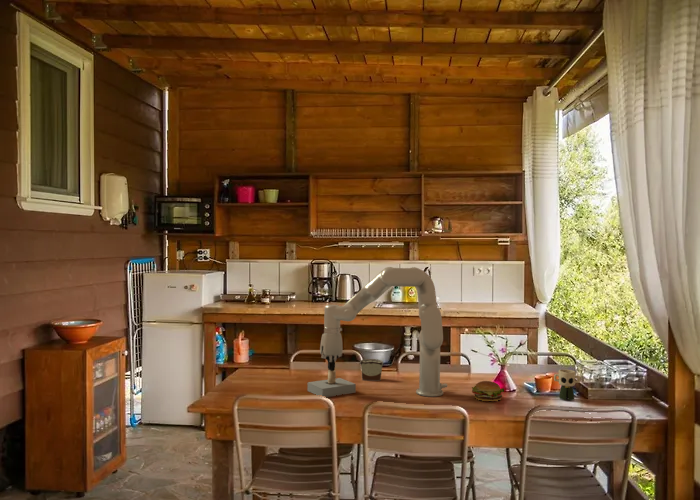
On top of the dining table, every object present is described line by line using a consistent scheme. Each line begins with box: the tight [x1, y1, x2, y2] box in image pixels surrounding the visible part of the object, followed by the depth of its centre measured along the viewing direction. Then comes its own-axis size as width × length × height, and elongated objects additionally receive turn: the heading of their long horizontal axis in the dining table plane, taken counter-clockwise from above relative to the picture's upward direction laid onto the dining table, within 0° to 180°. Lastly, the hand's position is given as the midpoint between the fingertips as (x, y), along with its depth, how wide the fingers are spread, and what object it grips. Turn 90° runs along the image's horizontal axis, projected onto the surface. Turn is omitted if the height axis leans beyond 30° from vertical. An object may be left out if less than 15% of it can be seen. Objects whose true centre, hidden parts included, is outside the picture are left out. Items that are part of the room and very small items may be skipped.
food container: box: [359, 358, 384, 382], centre depth 284 cm, size 12×6×10 cm, turn 84°
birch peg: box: [327, 369, 337, 385], centre depth 258 cm, size 4×4×10 cm
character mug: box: [553, 368, 581, 401], centre depth 249 cm, size 11×7×13 cm, turn 72°
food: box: [471, 380, 505, 402], centre depth 248 cm, size 14×14×8 cm
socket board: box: [307, 377, 357, 398], centre depth 258 cm, size 18×14×4 cm
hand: (331, 369), depth 258 cm, fingers closed
